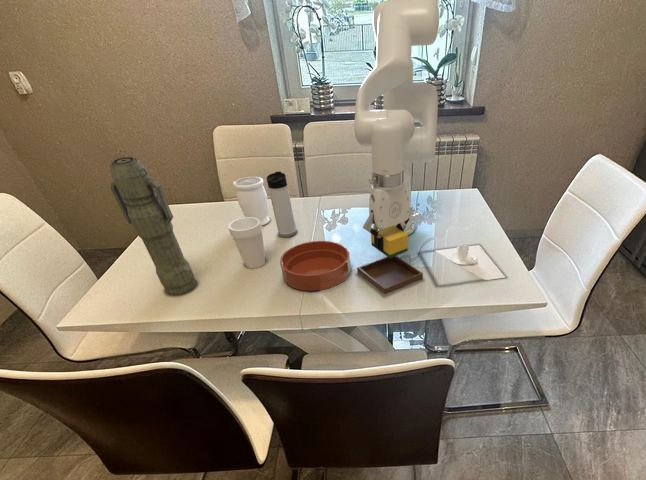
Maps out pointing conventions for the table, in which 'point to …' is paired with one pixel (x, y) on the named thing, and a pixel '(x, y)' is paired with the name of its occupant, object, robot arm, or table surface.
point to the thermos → (151, 223)
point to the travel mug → (281, 204)
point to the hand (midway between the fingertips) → (389, 244)
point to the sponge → (393, 241)
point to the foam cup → (249, 240)
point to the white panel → (473, 261)
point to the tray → (389, 274)
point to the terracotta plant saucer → (315, 265)
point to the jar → (252, 198)
